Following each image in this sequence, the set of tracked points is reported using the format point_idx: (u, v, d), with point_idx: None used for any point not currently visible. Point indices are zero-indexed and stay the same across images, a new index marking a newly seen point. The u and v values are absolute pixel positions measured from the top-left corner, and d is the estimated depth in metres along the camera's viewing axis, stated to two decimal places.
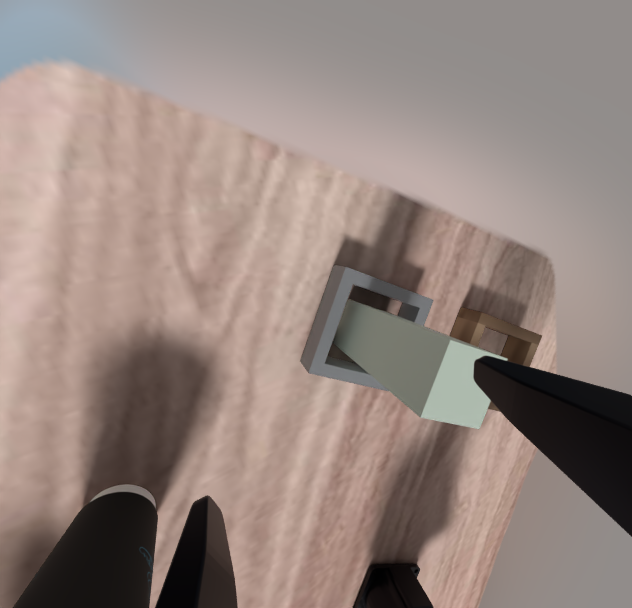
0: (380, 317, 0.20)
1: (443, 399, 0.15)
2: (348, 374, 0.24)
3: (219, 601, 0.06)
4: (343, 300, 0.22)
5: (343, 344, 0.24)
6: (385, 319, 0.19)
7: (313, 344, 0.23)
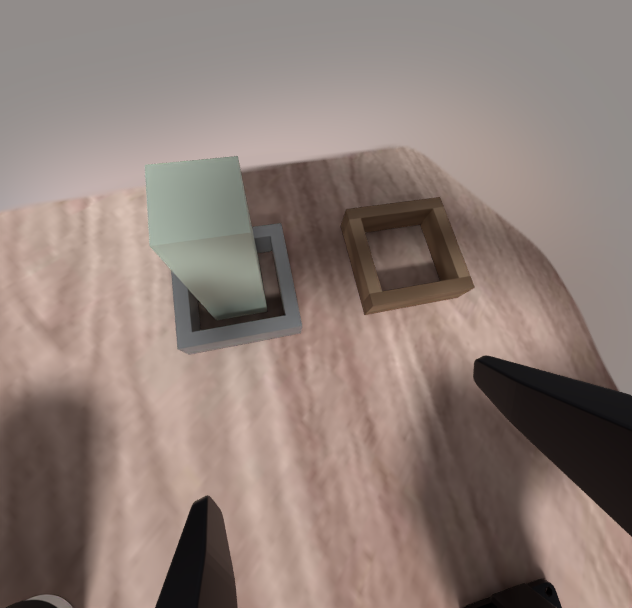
0: None
1: (172, 219, 0.12)
2: (226, 331, 0.21)
3: (219, 601, 0.06)
4: None
5: None
6: None
7: None
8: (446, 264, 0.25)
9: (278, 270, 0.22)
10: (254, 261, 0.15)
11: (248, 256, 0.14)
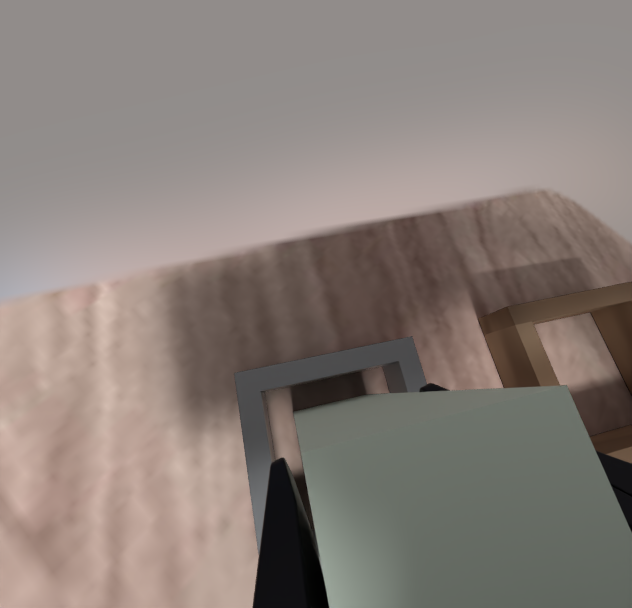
0: None
1: None
2: None
3: (310, 548, 0.07)
4: (259, 426, 0.13)
5: None
6: None
7: None
8: None
9: None
10: None
11: None
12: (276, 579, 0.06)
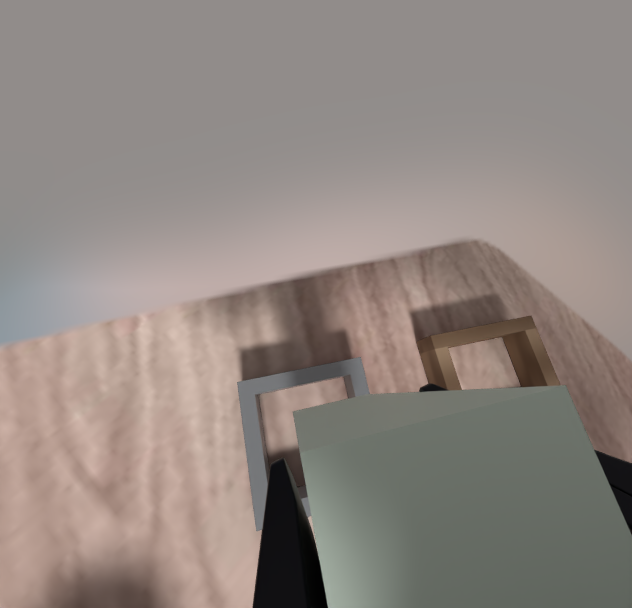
0: None
1: None
2: None
3: (310, 548, 0.07)
4: (253, 418, 0.19)
5: None
6: None
7: None
8: None
9: None
10: None
11: None
12: (277, 579, 0.06)
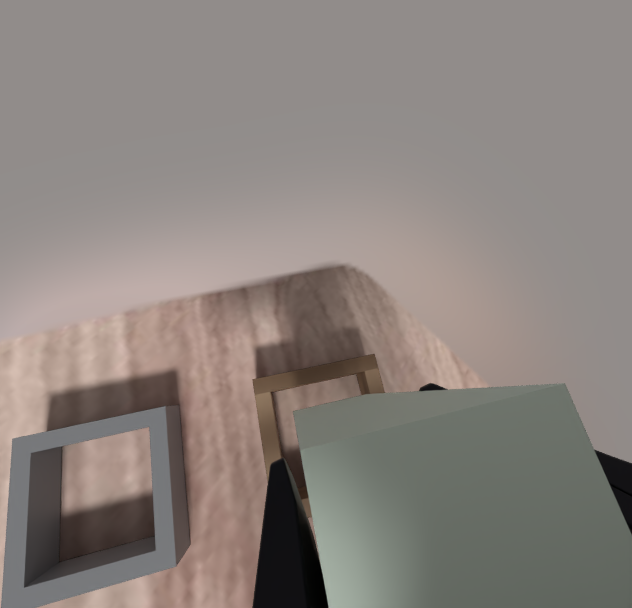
0: None
1: None
2: (71, 582, 0.16)
3: (310, 548, 0.07)
4: (23, 481, 0.17)
5: None
6: None
7: None
8: None
9: (153, 479, 0.17)
10: None
11: None
12: (277, 579, 0.06)
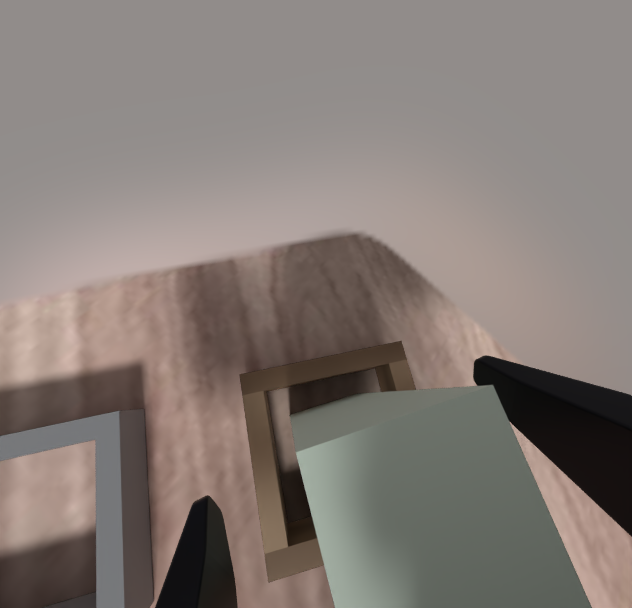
0: None
1: None
2: None
3: (219, 601, 0.06)
4: None
5: None
6: None
7: None
8: None
9: (98, 515, 0.12)
10: None
11: None
12: None
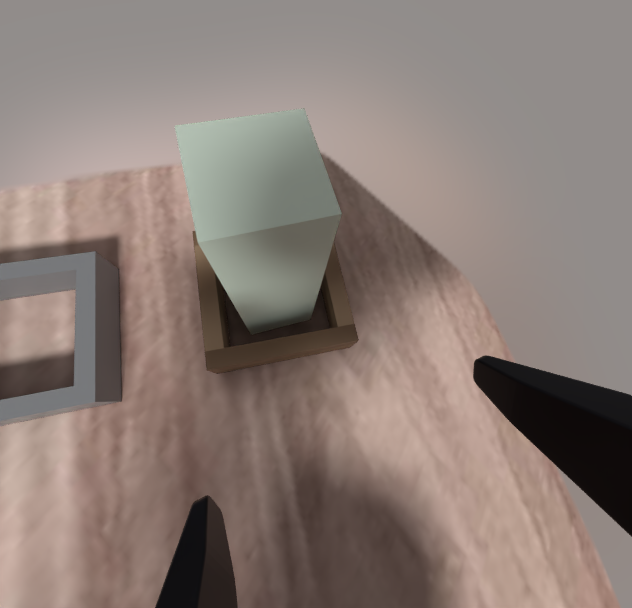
0: None
1: (226, 200, 0.08)
2: None
3: (219, 601, 0.06)
4: None
5: None
6: None
7: None
8: (329, 305, 0.19)
9: (77, 319, 0.16)
10: (326, 257, 0.11)
11: (322, 251, 0.10)
12: None
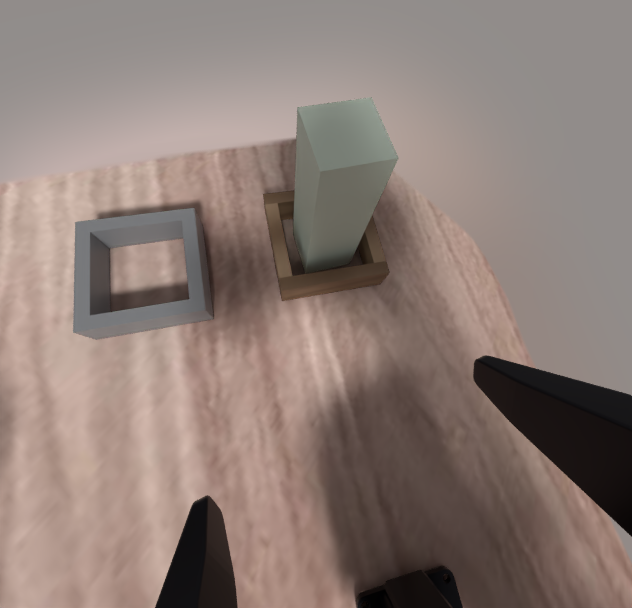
0: (295, 195, 0.21)
1: (332, 149, 0.14)
2: (126, 314, 0.20)
3: (219, 601, 0.06)
4: (85, 249, 0.21)
5: (305, 258, 0.23)
6: (296, 188, 0.20)
7: None
8: (365, 250, 0.25)
9: (186, 254, 0.22)
10: (379, 194, 0.17)
11: (379, 188, 0.16)
12: None
